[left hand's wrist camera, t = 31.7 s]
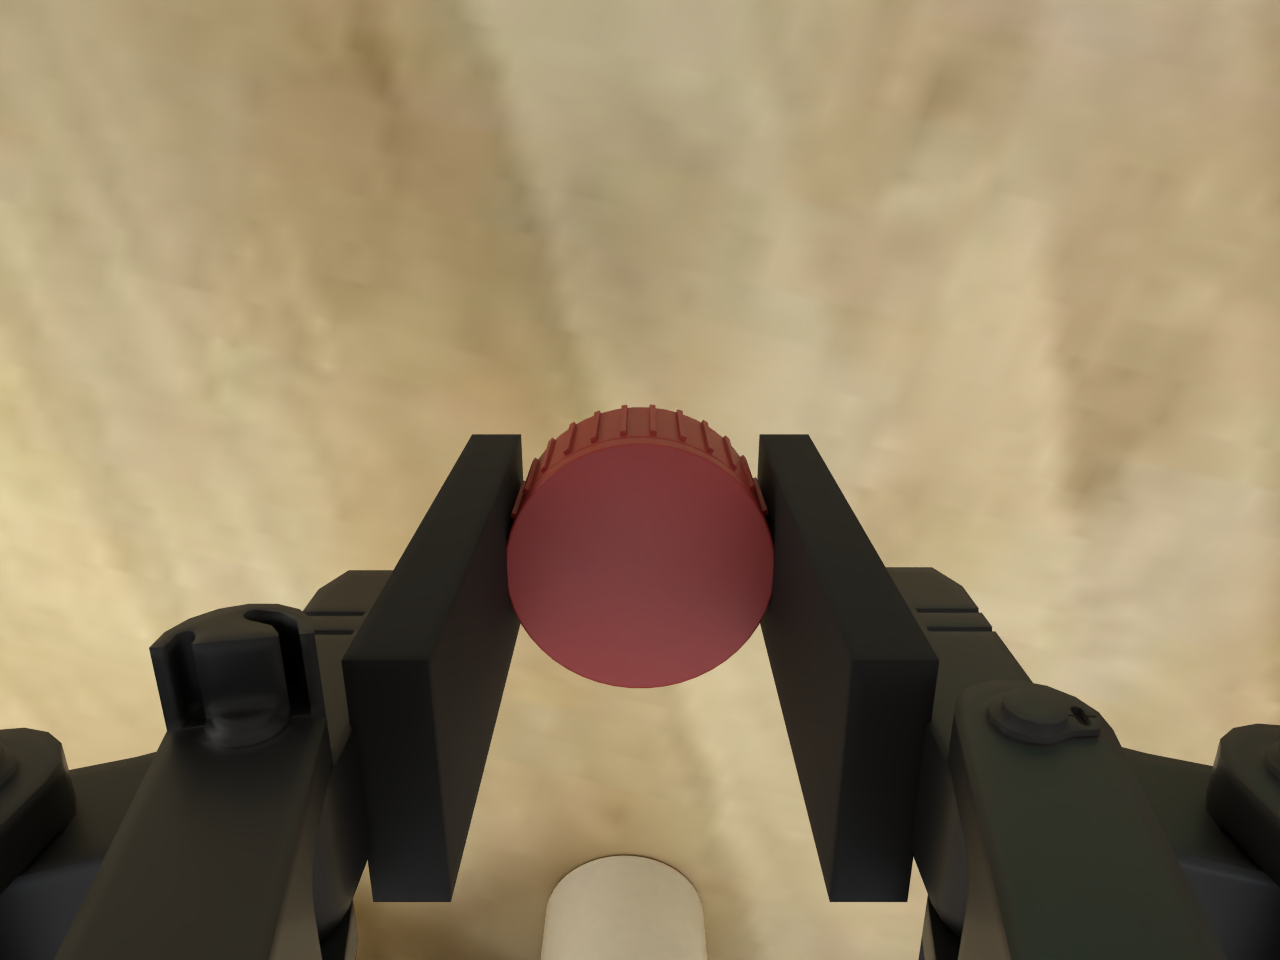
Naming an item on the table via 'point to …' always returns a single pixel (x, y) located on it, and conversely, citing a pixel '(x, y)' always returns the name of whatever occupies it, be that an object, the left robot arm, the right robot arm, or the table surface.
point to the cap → (640, 549)
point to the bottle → (624, 913)
